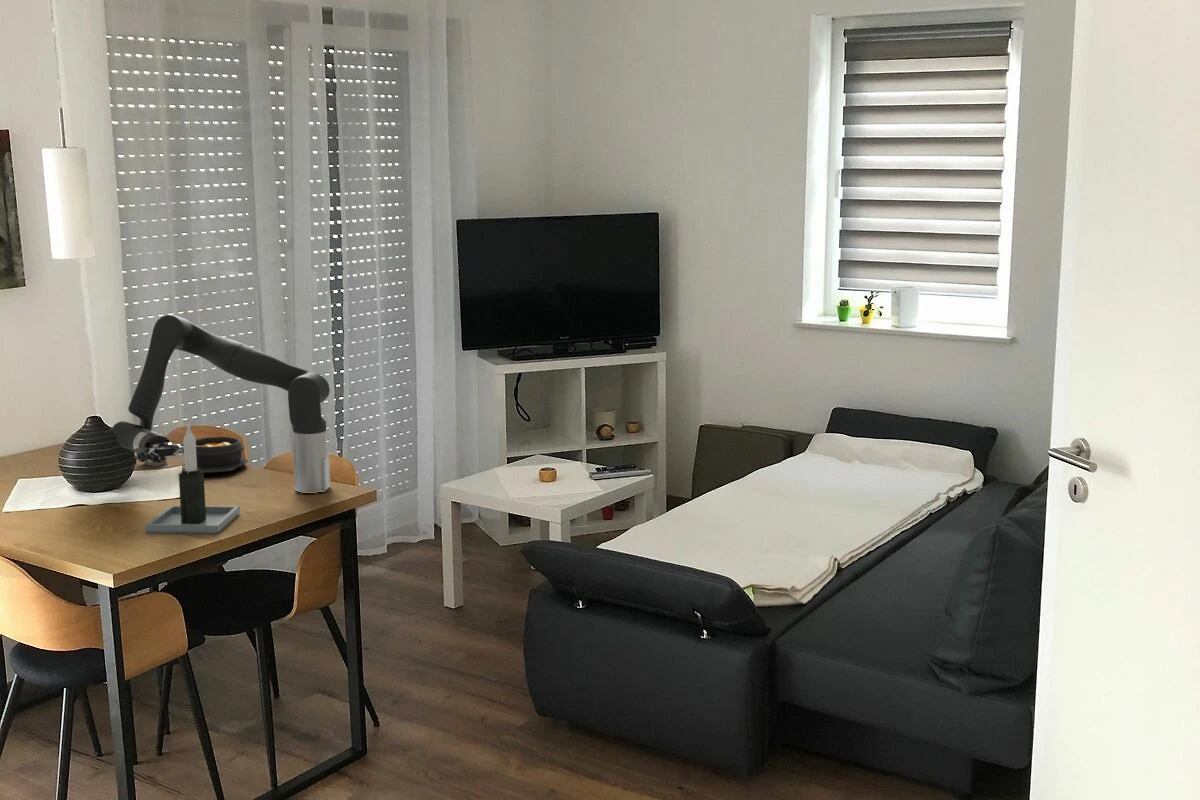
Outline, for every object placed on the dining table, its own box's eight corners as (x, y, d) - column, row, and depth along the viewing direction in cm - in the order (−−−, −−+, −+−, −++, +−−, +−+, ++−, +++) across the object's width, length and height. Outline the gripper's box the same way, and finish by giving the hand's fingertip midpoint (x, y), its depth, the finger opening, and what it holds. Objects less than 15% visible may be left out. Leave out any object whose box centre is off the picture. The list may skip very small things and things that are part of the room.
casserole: (246, 476, 355) (245, 449, 353) (180, 480, 350) (179, 452, 348) (248, 458, 378) (247, 432, 377) (186, 460, 374) (185, 434, 372)
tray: (239, 514, 315) (239, 506, 314) (218, 534, 297) (218, 525, 297) (171, 513, 315) (170, 505, 314) (145, 533, 297) (145, 524, 297)
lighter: (170, 464, 369) (168, 432, 367) (162, 466, 366) (160, 434, 364) (150, 461, 372) (148, 430, 370) (142, 463, 369) (140, 432, 367)
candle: (207, 518, 308) (202, 423, 304) (199, 524, 303) (193, 427, 299) (188, 517, 309) (183, 422, 304) (179, 523, 304) (174, 427, 299)
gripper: (124, 435, 319) (146, 446, 306) (177, 429, 328) (200, 439, 315) (126, 463, 320) (148, 474, 308) (178, 455, 329) (202, 466, 317)
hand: (174, 456), depth 312 cm, fingers open, 8 cm apart
